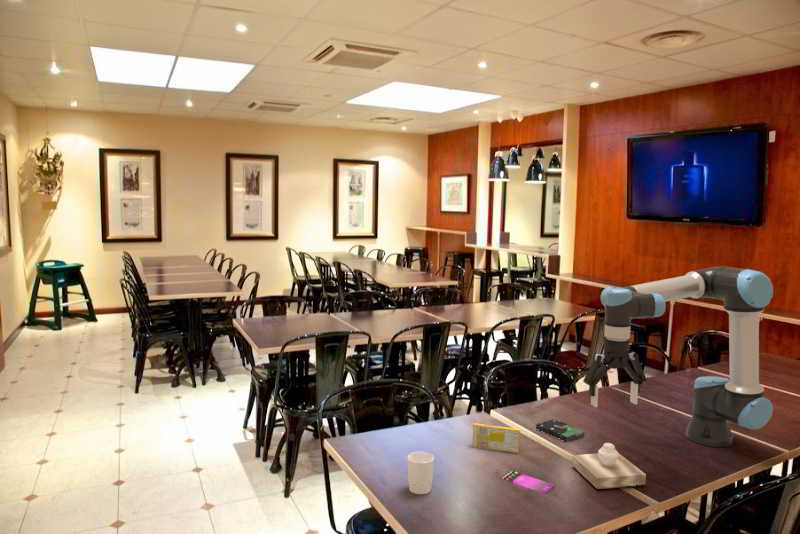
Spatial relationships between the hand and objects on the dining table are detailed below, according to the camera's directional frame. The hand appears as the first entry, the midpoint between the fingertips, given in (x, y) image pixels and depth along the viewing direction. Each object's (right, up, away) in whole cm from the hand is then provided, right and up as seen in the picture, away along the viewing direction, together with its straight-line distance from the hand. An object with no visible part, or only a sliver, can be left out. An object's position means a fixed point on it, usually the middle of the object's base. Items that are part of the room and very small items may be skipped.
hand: (614, 404), depth 181 cm
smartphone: (-28, -24, -4) cm, 37 cm away
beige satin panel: (-2, -23, 0) cm, 23 cm away
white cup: (-61, -23, -9) cm, 66 cm away
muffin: (-2, -19, 0) cm, 19 cm away
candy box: (-34, -21, +20) cm, 44 cm away
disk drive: (-7, -20, +35) cm, 41 cm away
